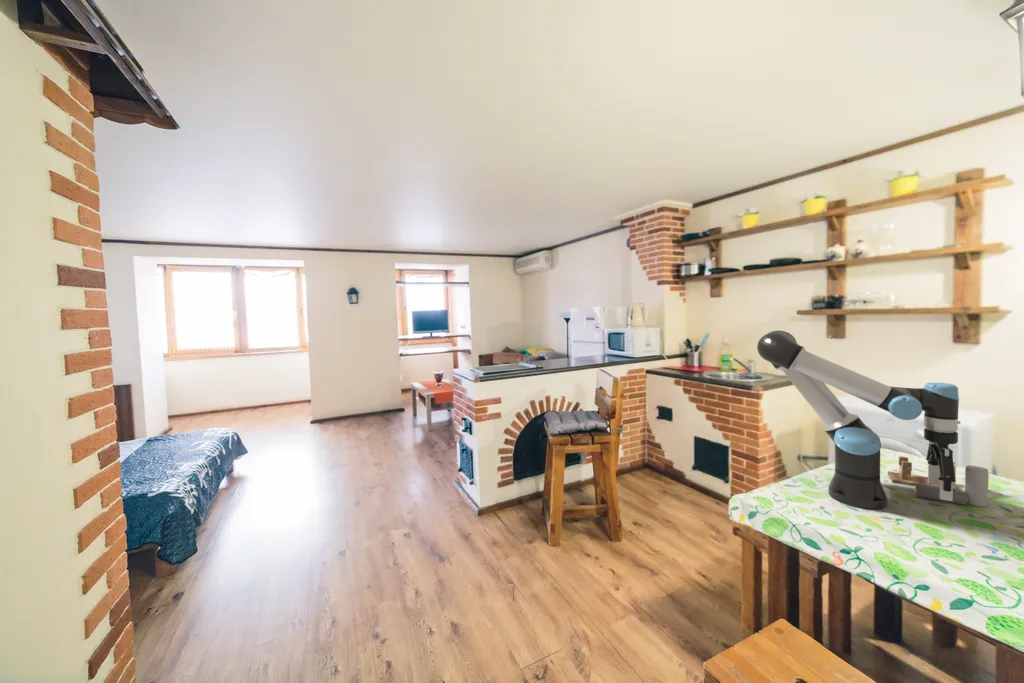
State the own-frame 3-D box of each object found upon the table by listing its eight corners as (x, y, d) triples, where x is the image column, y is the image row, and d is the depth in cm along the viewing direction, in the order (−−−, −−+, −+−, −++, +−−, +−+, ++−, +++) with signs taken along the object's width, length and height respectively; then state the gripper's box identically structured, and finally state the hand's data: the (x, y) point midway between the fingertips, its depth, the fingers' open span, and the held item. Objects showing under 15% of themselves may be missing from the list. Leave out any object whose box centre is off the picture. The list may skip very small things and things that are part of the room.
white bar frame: (946, 487, 135) (947, 453, 134) (939, 478, 142) (939, 445, 141) (955, 488, 133) (956, 454, 133) (947, 479, 140) (947, 446, 140)
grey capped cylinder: (916, 498, 131) (916, 488, 131) (913, 493, 134) (914, 482, 134) (968, 507, 124) (969, 496, 124) (964, 501, 127) (964, 490, 127)
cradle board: (892, 482, 143) (892, 461, 142) (887, 473, 150) (887, 453, 149) (956, 492, 133) (957, 469, 133) (948, 482, 140) (948, 461, 140)
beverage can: (992, 507, 122) (993, 471, 122) (974, 507, 123) (975, 470, 123) (977, 500, 127) (978, 465, 126) (960, 500, 128) (960, 465, 127)
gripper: (971, 442, 115) (970, 510, 117) (945, 421, 135) (944, 480, 137) (935, 438, 120) (934, 504, 121) (915, 419, 140) (914, 475, 141)
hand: (939, 491), depth 129 cm, fingers open, 13 cm apart
